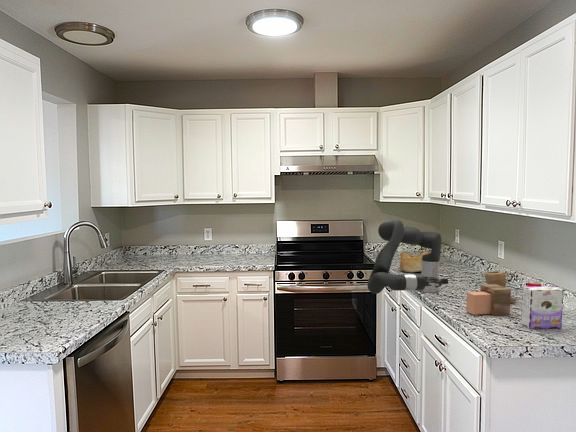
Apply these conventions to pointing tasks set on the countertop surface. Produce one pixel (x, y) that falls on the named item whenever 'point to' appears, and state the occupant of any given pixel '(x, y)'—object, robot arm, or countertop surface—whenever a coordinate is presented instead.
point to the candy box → (542, 307)
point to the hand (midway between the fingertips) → (447, 281)
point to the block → (479, 302)
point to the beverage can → (533, 284)
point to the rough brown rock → (412, 262)
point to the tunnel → (498, 298)
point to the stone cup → (497, 279)
